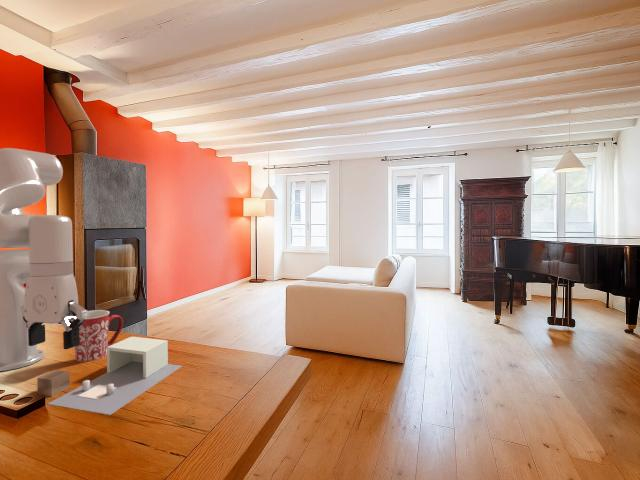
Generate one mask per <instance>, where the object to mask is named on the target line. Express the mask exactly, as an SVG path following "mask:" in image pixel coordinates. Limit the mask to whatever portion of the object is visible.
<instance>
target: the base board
mask: <svg viewBox="0 0 640 480" xmlns="http://www.w3.org/2000/svg"><path fill="white" fill-rule="evenodd" d="M182 367H183V365H180V364H179V365H178V364H172V363H168V365H166V366H165V367H163V368H161V369H160V370H158V371H157V372H155V373H153V374H152V375H150V376H149V377H147V378H143V363H141V362H133V361H132V362H130V363H128V364H126V365H124V366H122V367H120V368H118V369H116V370H115V371H113V372H111V373H107V372H106V373H103V374H102V375H100V376H98V377H96V378H94V379H93V380H89V379H85V380H83V381H82V384H81V385H80V386H78V387H77V388H75V389H73V390H71V391H69V392H67V393H65V394H63V395H61V396H59V397H58V398H56V399H54V400H52V401H50V402H48V403H47V405H50V406H51V405H52V406H57V407H62V408H63V407H64V408H68V409H75V410H80V411H86V412H91V413H97V414H104V415H107V416H111V415H112V414H114V413H115V412H117V411H119V410H120V409H121V408H123V407H124V406H126V405H127V404H128V403H130V402H132V401H133V400H134V399H136V398H137V397H139V396H141V395H142V394H144V393H145V392H147V391H148V390H149V389H151V388H152V387H154V386H155V385H157V384H159V383H160V382H162V381H163V380H164V379H165V378H168V377H169V376H170V375H172V374H173V373H174V372H176V371H178V370H179V369H181V368H182Z"/></svg>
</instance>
